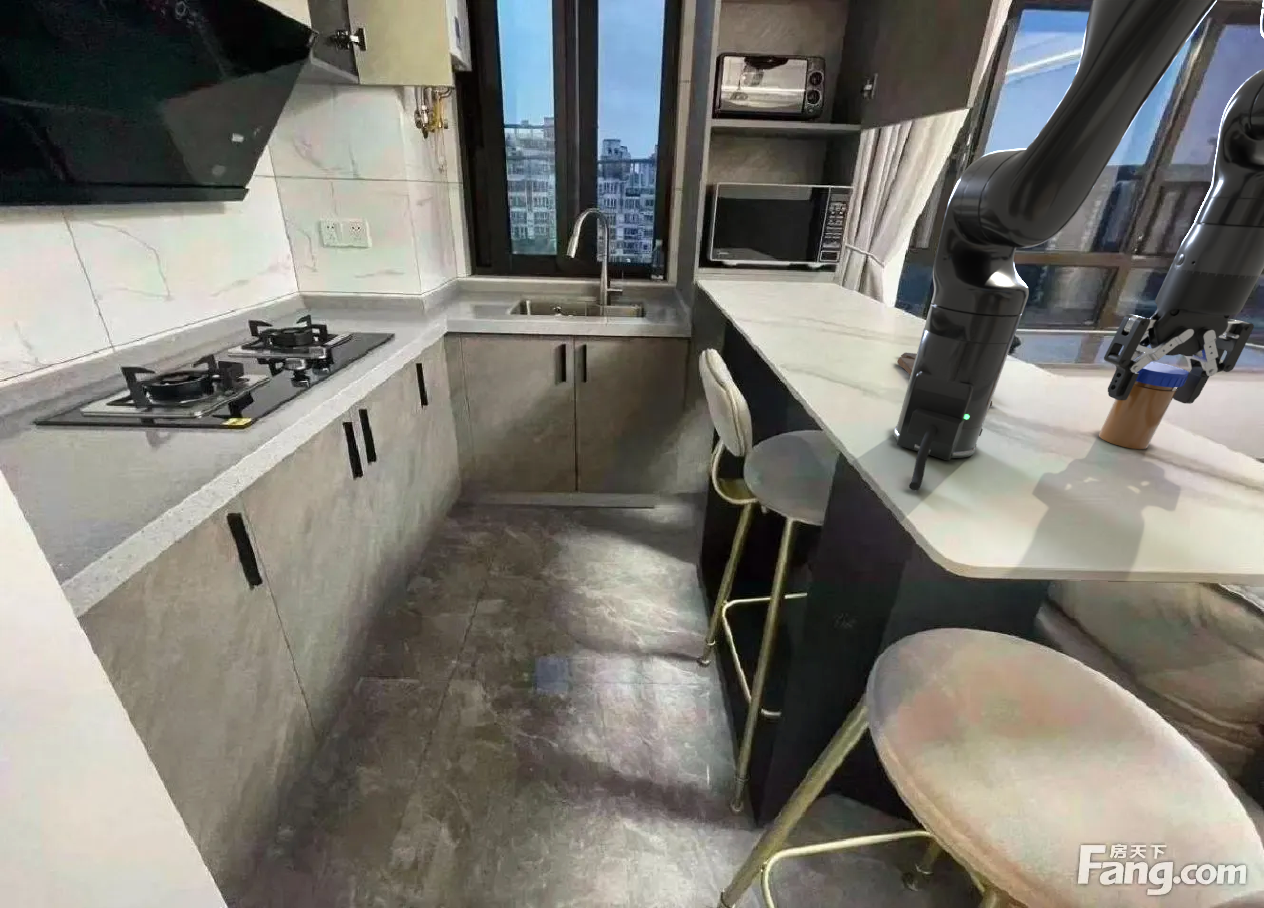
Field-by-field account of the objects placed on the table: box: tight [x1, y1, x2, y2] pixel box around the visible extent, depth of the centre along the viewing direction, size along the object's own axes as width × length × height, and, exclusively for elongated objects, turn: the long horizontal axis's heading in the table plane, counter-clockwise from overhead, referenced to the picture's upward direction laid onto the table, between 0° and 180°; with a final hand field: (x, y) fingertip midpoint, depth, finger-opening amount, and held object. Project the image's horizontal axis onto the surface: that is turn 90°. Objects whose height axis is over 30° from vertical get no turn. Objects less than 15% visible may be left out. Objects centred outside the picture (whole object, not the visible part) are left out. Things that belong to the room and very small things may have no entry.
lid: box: [1136, 361, 1189, 388], centre depth 69 cm, size 6×6×2 cm
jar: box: [1098, 381, 1177, 450], centre depth 71 cm, size 5×5×9 cm
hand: (1149, 400), depth 69 cm, fingers open, 8 cm apart
